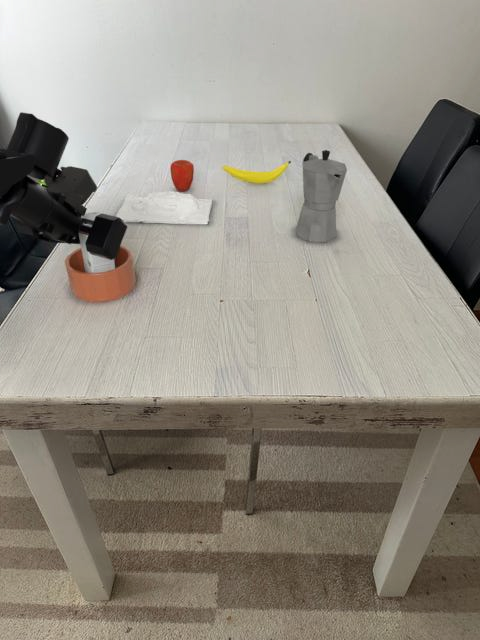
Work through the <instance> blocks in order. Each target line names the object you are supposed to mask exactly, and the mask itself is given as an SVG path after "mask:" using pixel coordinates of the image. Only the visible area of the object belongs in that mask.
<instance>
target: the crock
mask: <svg viewBox="0 0 480 640" xmlns="http://www.w3.org/2000/svg"><path fill="white" fill-rule="evenodd" d="M133 257H134V256H133V254H132V252H131V250H130V249H129V248H128V247H126V246H123V245H122V244H121V245H120V251H119V253H118V254H117V256H116V258H114V262H115V269H113V270H109V271H106V272H99V273H86V272H85V267H84V261H83V256H82V250H81V247H80V248H77V249H75V250H74V251H72V252H71V253H69V254H68V255H67V256H66V258H65V260H64V265H65V269H66V273H67V277H68V281H69V285H70V289H71V293H72V294H73V295H74V297H75V298H77V299H78V300H81V301H85V302H89V303H104V302H105V303H106V302H110V301H114V300H118V299H121V298H123V297H125V296H127V295H128V294H130V293H131V292H132V291H133V290H134V288H135V286H136V282H137V281H136V279H137V277H136V272H135V264H134V258H133Z"/></svg>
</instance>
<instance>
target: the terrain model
mask: <svg viewBox="0 0 480 640" xmlns="http://www.w3.org/2000/svg"><path fill="white" fill-rule="evenodd" d="M212 205H213V199H210V198H209V199H208V198H197V197H196V196H194V195H193V194H188V193H187V194H185V193H181V192H180V191H159V192H149V193H148V194H147V195H144V196H137V195H136V194H133V193H128V194H127V195H126V196H125V198H124V201H123V203H122V205H121V207H120V209H118V211H117V213H116V215H115V217H119V218H121V219H122V220H123V221H125V222H126V223H142V224H143V223H144V224H171V225H172V224H175V225H176V224H177V225H208V224H209V222H210V215H211V210H212Z"/></svg>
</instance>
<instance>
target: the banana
mask: <svg viewBox="0 0 480 640" xmlns="http://www.w3.org/2000/svg"><path fill="white" fill-rule="evenodd" d="M291 163H292V161H291V160H288V162H286V163H284V164H282V165H280V166H278V167H277V168H275V169H273V170H270V171H251V170H244V169H240V168H235V167H232V166H227V165H221V166H220V167H221V168H222V169H223V170H224V171H225V172H226V173H227V174H228V175H229V176H231V177H233V178H234V179H236V180H239V181H242V182H246V183H251V184H258V185H260V184H261V185H262V184H268V183H271V182H274V181H275V180H277V179H279V177H281V176H282V175H283V174H284V173H285V171H286V170H287V168H288V166H289V165H290V164H291Z"/></svg>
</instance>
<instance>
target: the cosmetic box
mask: <svg viewBox="0 0 480 640" xmlns="http://www.w3.org/2000/svg"><path fill="white" fill-rule="evenodd" d="M101 213H102V212H101V211H99V210H97V211H91V212H86V213H85V215H84V216H81V218H85V219H89V220H93V221H94V219H95V217H96V216H97V215H99V214H101ZM84 226H85V225H84ZM88 227H89V226H88ZM78 234H79V239H80V244H79V245H80V248H81V250H82V256H83V261H84V267H85V272H86V273H99V272H106V271H109V270H113V269H115V262H114V259H113V260H109V259H106V258H102V257H99V256H96V255H92V254H90V253H89V252H88V251H87V250H86V245H85V242H86V240H87V237H88V235H85V234H81V233H78Z"/></svg>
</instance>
